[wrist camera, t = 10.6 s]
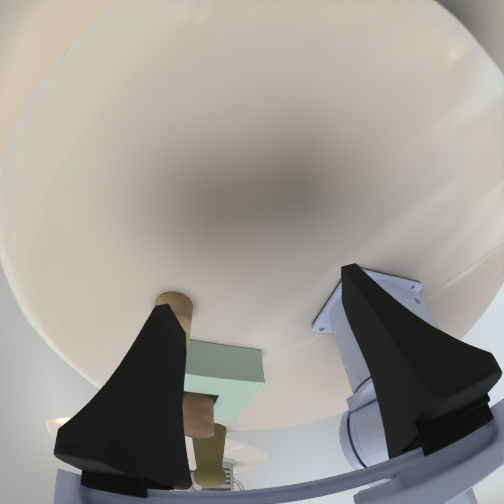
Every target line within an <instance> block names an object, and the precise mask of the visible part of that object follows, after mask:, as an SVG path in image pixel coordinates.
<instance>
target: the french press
mask: <svg viewBox="0 0 504 504" xmlns="http://www.w3.org/2000/svg"><path fill="white" fill-rule="evenodd" d="M235 462H236V461H235V460H233V459H229V458H223V464H222V469H223V470H224V472H225V474H226V481H225V483H224V484H223V485H221V486H216V487H206V486H202V490H207V491H230V490H231V489H234V488H233V482H235V481H233V479H234V478H233V468H232V465H233V464H234V463H235ZM230 468H231V470H230ZM231 472H232V474H230V473H231ZM231 477H232V479H231ZM234 480H235V479H234ZM231 481H232V484H231ZM236 481H238V480H236ZM238 482H239V481H238ZM235 483H236V482H235ZM239 483H240V482H239ZM236 484H238V483H236ZM240 484H241V483H240ZM238 486H239V484H238ZM241 486H242V488H243V485H242V484H241ZM239 488H240V486H239ZM243 490H244V488H243ZM240 491H241V488H240Z"/></svg>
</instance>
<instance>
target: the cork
mask: <svg viewBox="0 0 504 504" xmlns="http://www.w3.org/2000/svg"><path fill="white" fill-rule="evenodd" d="M225 434H226V427H225V426H223V425H220V424H215V423H214V436H212V437H209V438H192V440H193V447H194V454H195V460H196V466H197V468H196V470H195V471H194V474H193V478H194V481H195V482H196V484H198V485H201V486H206V487H216V486H221V485H223V484H224V483H225V481H226V474H225V472H224V470H223V469H222V464H223V454H224V444H225Z"/></svg>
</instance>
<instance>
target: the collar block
mask: <svg viewBox="0 0 504 504" xmlns="http://www.w3.org/2000/svg"><path fill="white" fill-rule="evenodd" d="M264 383H265V380H264V372H263V364H262V356H261V350H257V349H249V348H241V347H234V346H226V345H219V344H213V343H206V342H200V341H194V340H190V343H189V347H188V348H187V357H186V369H185V381H184V391H188V392H195V393H203V394H211V395H213V398H214V420H216V421H229V422H235V421H236V419H237V418H238V417H239V416H240V414H241V413H242V412H243V411H244V409H245V408H246V407H247V405H248V404H249V403H250V402H251V400H252V399H253V398H254V396H255V395H256V394H257V392H258V391H259V390H260V388H261V387H262V386H263V384H264ZM183 397H184V393H183Z"/></svg>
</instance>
